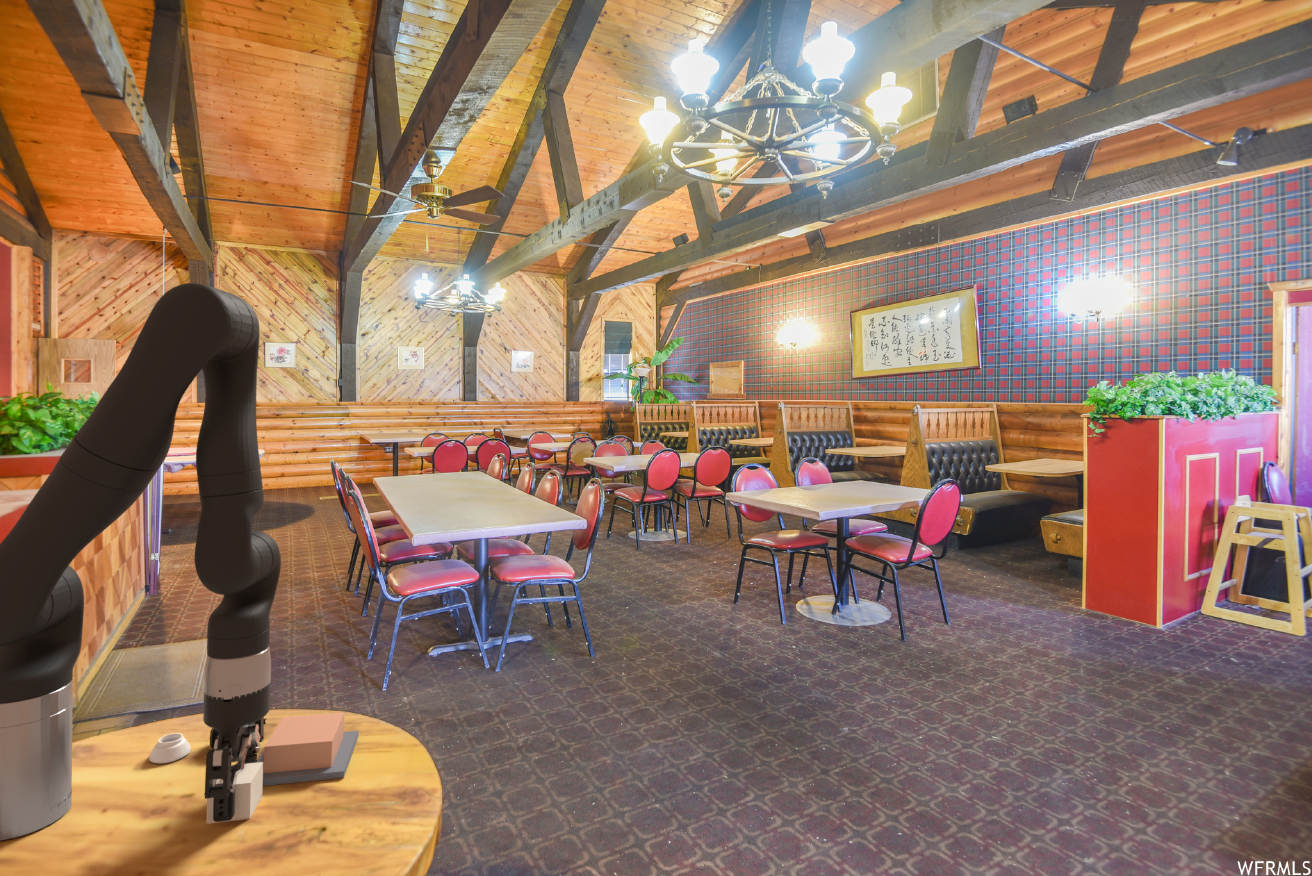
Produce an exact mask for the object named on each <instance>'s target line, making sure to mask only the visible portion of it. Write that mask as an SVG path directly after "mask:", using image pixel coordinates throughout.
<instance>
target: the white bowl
mask: <svg viewBox="0 0 1312 876" xmlns="http://www.w3.org/2000/svg"><path fill="white" fill-rule="evenodd" d="M190 752H191V744H190V743H189V742H188V740H187V738H185V737H184V735H183V733H180V732H173V733H167V734H165V735H163V736H161V737H159V739H157V743H156V744H155V745H153V748H152V750H151V752H150V754H149V757H148V758H149V759H148V760H149V761H150V762H151V763H153V764H167V763H172V762H173V763H174V762H175V761H178V760H181V759H182V758H185V756H187V755H188V754H189V753H190Z"/></svg>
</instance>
